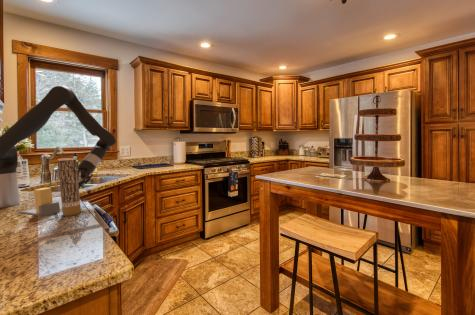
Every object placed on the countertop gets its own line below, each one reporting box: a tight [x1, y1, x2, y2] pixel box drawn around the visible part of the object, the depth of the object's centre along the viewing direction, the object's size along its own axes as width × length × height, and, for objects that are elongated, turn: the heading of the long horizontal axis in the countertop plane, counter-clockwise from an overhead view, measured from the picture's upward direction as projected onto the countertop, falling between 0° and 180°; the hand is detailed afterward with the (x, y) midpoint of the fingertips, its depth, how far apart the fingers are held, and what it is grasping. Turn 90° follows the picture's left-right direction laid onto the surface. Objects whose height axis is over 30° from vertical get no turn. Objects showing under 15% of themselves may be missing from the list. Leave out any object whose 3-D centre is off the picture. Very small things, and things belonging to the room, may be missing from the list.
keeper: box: [33, 187, 53, 214], centre depth 111 cm, size 4×4×11 cm
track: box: [18, 201, 61, 217], centre depth 113 cm, size 18×7×5 cm, turn 67°
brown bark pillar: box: [57, 157, 82, 217], centre depth 109 cm, size 7×7×25 cm
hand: (69, 189), depth 122 cm, fingers open, 8 cm apart
